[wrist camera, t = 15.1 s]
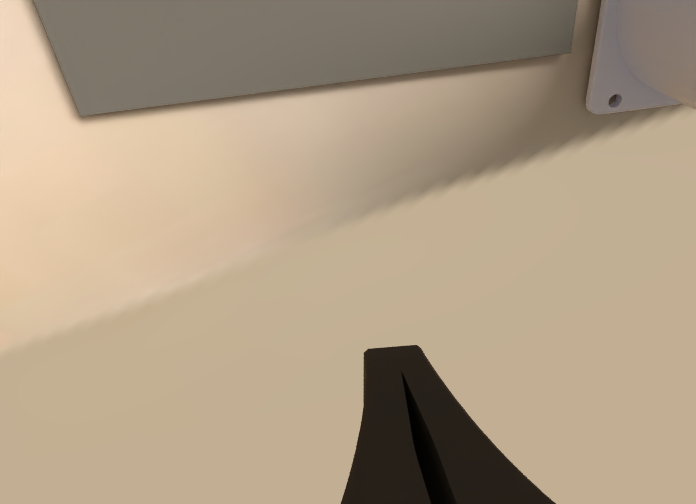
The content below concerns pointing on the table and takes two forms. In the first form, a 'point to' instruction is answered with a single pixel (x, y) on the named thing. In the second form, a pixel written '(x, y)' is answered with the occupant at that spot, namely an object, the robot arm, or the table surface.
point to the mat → (281, 43)
